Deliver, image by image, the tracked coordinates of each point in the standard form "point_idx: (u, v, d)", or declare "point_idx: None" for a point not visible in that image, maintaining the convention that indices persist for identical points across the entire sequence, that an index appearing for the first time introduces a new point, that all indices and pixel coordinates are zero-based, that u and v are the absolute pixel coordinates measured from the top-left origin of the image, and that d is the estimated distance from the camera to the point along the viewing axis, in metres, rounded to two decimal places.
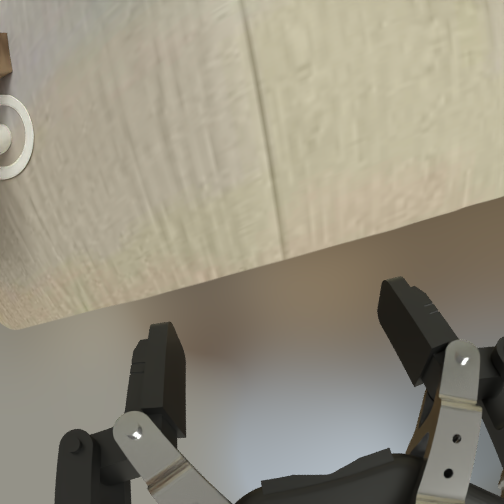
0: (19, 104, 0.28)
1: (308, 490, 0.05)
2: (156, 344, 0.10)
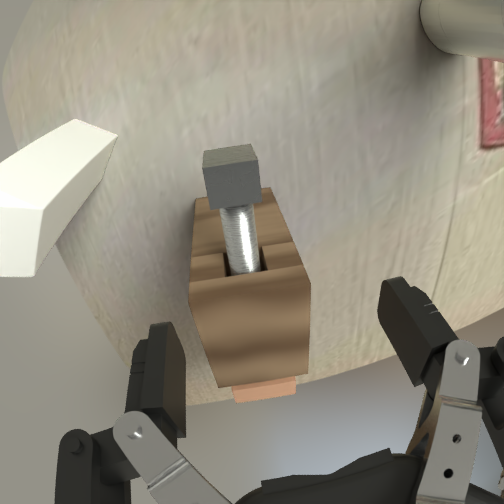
0: None
1: (308, 490, 0.05)
2: (156, 344, 0.10)
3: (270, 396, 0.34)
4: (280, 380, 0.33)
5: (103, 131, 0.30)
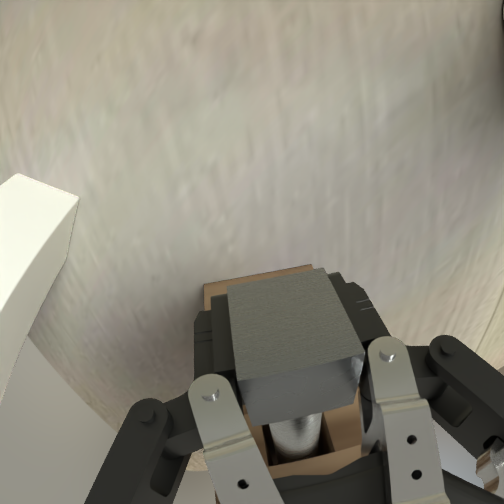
0: None
1: (308, 490, 0.05)
2: (220, 313, 0.11)
3: None
4: None
5: (57, 193, 0.19)
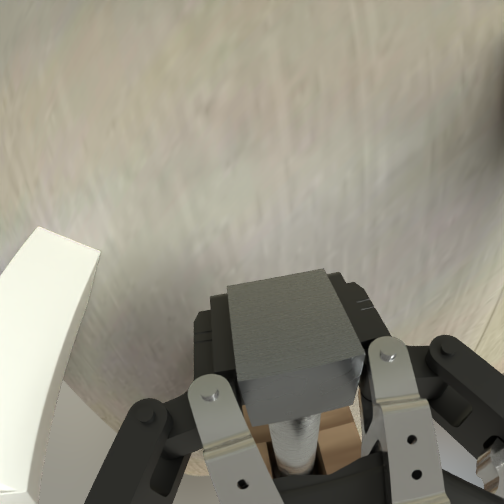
0: None
1: (308, 490, 0.05)
2: (220, 313, 0.11)
3: None
4: None
5: (79, 248, 0.22)
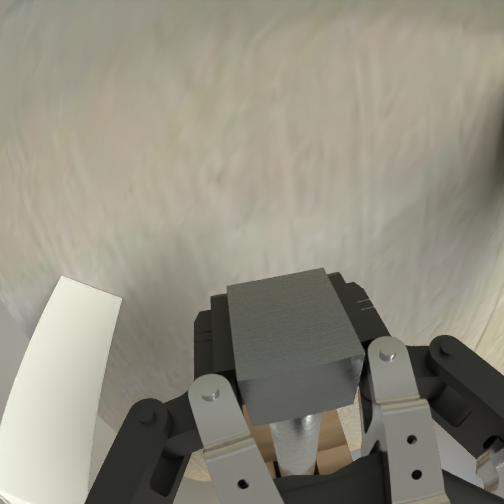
0: None
1: (308, 490, 0.05)
2: (220, 312, 0.11)
3: None
4: None
5: (102, 297, 0.25)
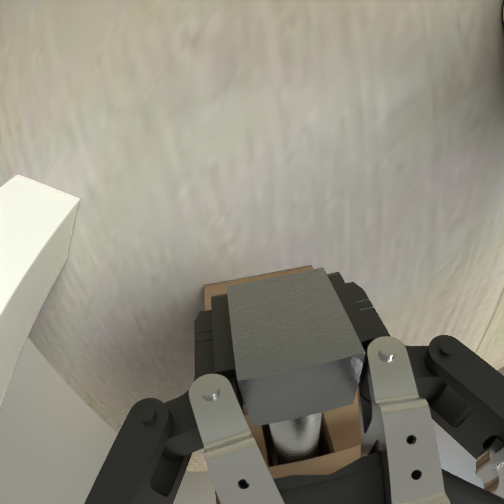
0: None
1: (308, 490, 0.05)
2: (221, 312, 0.11)
3: None
4: None
5: (57, 194, 0.19)
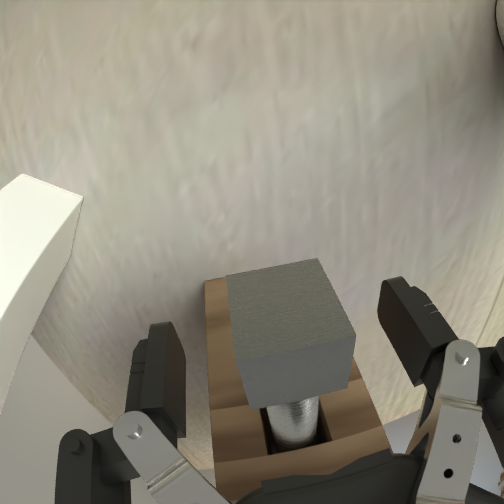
0: None
1: (308, 490, 0.05)
2: (156, 344, 0.10)
3: None
4: None
5: (61, 193, 0.20)
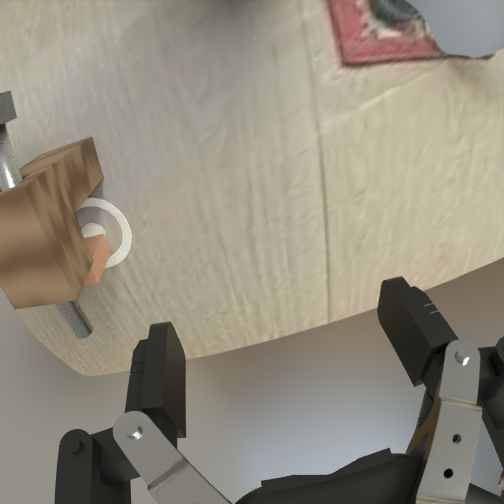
0: (114, 209, 0.41)
1: (308, 490, 0.05)
2: (156, 344, 0.10)
3: None
4: None
5: None
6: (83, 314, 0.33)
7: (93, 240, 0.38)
